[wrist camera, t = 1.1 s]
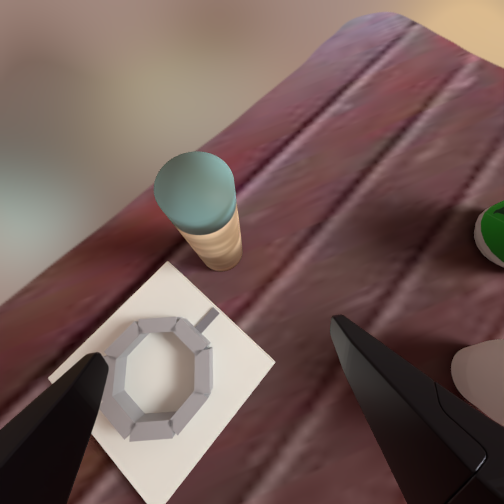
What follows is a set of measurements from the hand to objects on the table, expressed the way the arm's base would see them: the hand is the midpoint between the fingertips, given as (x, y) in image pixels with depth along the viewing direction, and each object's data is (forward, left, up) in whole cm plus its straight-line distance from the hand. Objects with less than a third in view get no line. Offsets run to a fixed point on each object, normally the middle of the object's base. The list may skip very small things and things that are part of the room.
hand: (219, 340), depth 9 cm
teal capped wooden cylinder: (+5, +7, -14) cm, 16 cm away
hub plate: (-7, +3, -14) cm, 16 cm away
